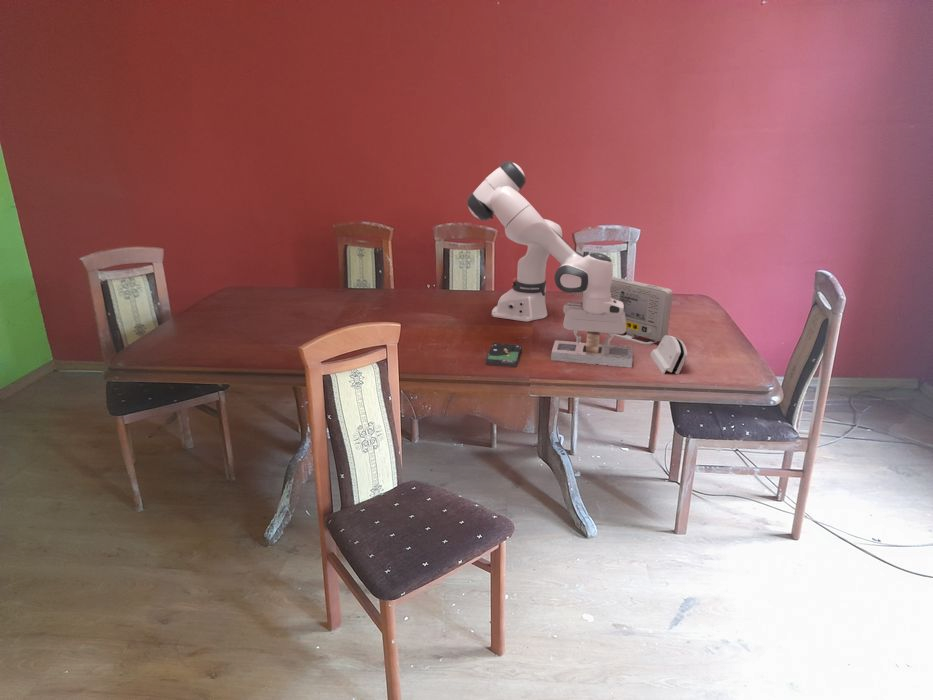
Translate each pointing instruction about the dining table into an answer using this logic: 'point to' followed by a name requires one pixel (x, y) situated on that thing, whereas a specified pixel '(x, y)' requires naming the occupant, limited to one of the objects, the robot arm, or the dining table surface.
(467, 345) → the dining table surface
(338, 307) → the dining table surface
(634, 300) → the network device
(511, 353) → the disk drive
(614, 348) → the grey flat frame
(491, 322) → the dining table surface
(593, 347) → the maple block
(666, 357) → the white rounded block
